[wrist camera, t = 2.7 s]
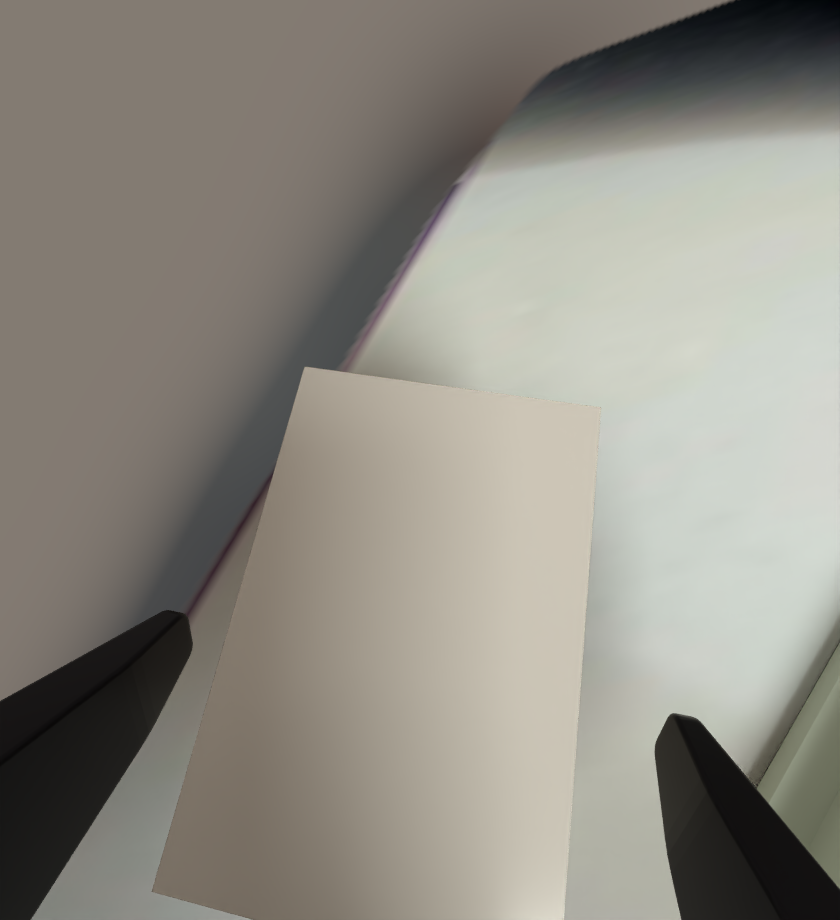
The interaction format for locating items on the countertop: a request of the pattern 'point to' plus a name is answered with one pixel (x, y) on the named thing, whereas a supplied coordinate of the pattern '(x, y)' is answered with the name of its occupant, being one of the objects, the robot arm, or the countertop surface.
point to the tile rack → (812, 773)
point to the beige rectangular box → (399, 665)
